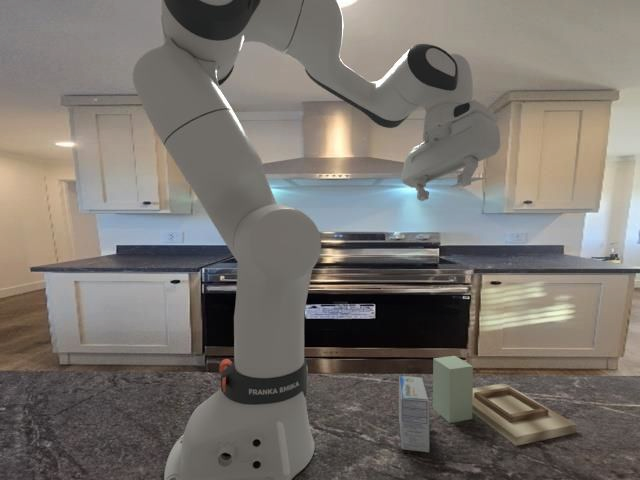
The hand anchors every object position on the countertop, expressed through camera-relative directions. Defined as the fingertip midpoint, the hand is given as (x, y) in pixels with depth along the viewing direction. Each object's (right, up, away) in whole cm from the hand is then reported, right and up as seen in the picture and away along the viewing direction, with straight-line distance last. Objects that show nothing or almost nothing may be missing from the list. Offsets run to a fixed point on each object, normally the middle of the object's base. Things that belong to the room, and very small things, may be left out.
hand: (441, 192), depth 58 cm
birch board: (+13, -42, +1) cm, 45 cm away
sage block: (+3, -43, +2) cm, 43 cm away
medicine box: (-7, -43, -5) cm, 44 cm away
